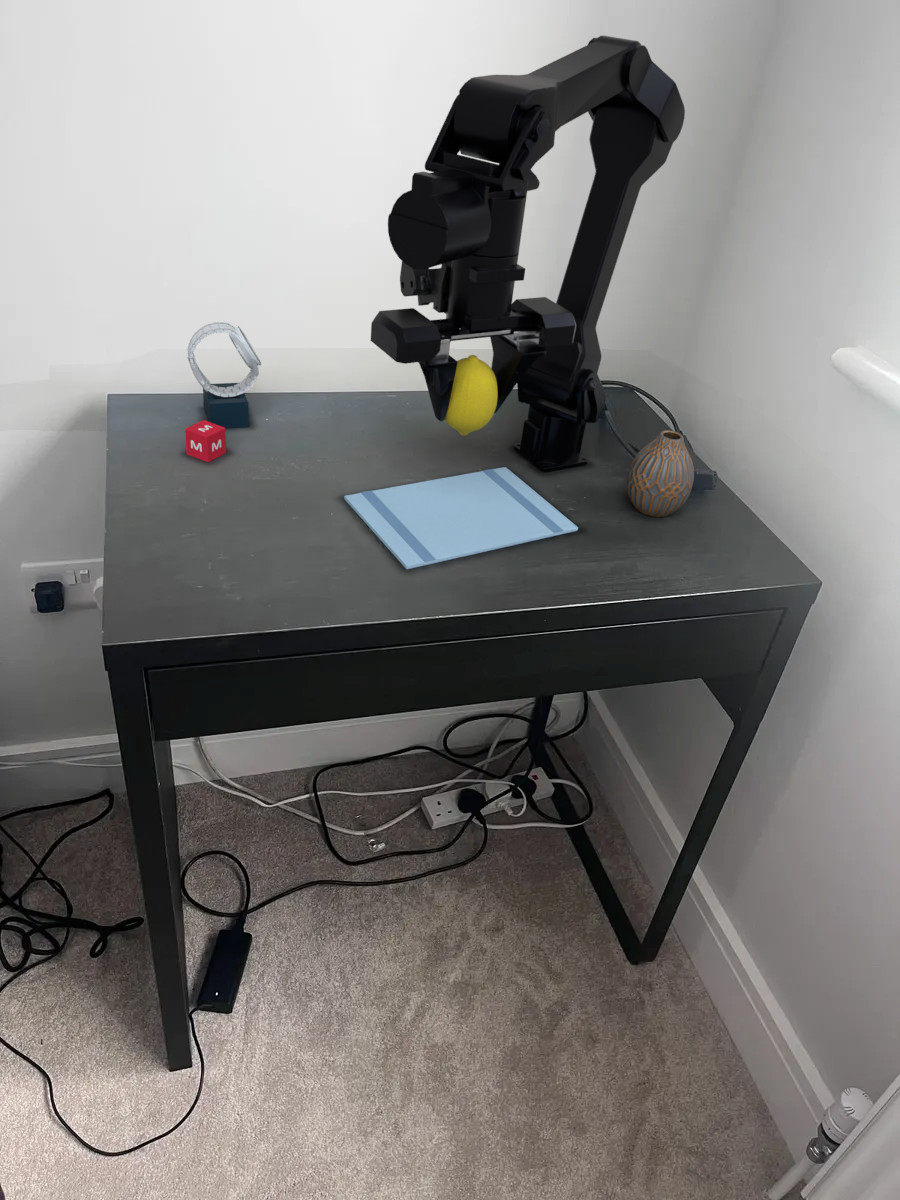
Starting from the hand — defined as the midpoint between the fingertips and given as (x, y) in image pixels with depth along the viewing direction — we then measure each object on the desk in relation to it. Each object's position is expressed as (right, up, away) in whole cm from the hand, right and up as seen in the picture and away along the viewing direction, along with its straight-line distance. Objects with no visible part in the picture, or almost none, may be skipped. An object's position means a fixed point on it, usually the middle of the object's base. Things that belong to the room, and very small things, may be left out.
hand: (466, 415), depth 88 cm
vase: (+21, -8, +13) cm, 25 cm away
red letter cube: (-28, -2, +12) cm, 31 cm away
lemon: (0, -2, +1) cm, 2 cm away
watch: (-28, +4, +20) cm, 34 cm away
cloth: (0, -9, +7) cm, 11 cm away
